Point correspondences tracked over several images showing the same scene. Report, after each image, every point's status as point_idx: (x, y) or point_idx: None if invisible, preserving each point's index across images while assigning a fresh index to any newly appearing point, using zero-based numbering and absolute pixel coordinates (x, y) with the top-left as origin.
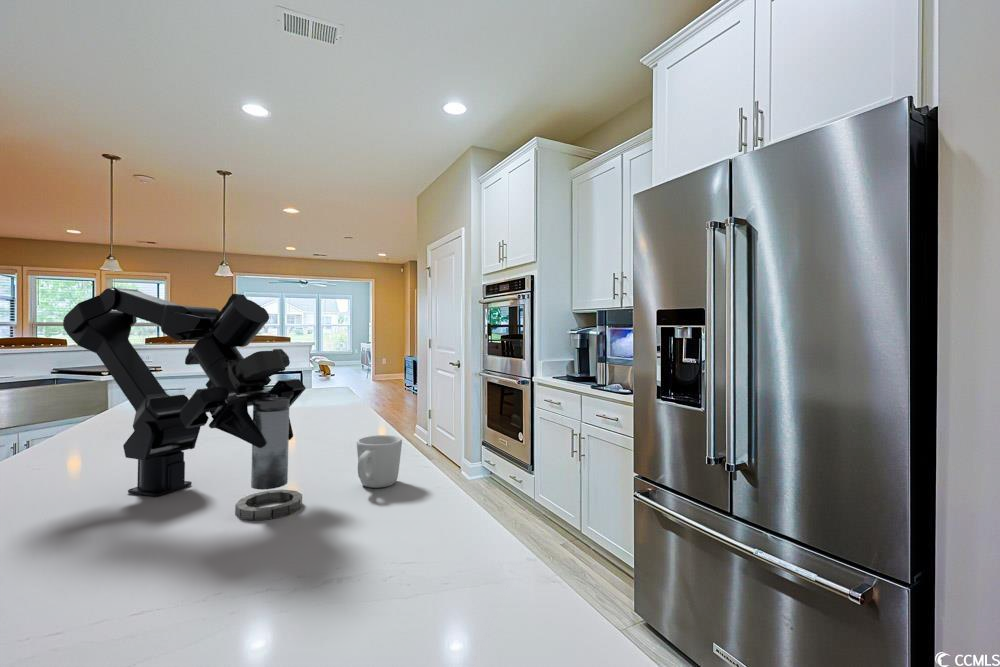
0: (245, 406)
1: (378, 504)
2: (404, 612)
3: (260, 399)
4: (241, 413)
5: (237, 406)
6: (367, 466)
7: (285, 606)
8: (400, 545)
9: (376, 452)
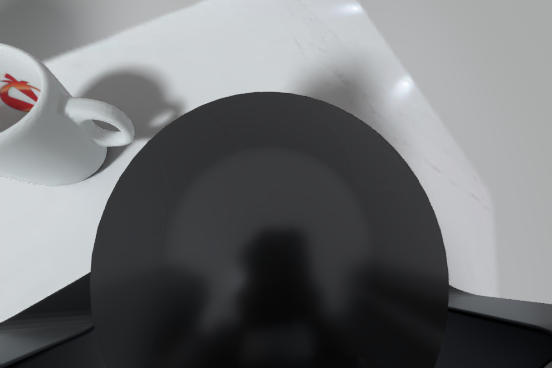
0: (470, 308)
1: (179, 114)
2: (347, 32)
3: (357, 346)
4: (450, 293)
5: (539, 304)
6: (90, 131)
7: (379, 90)
8: (275, 57)
9: (63, 91)
